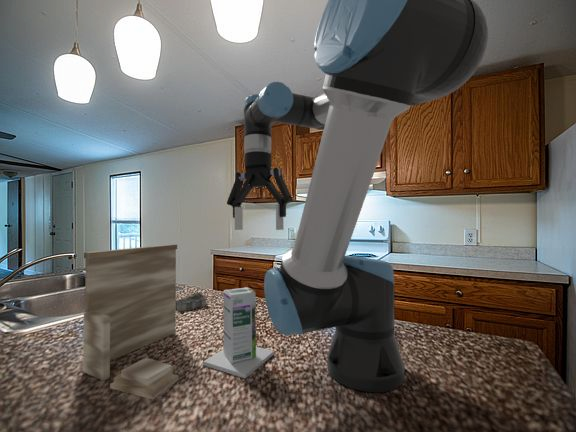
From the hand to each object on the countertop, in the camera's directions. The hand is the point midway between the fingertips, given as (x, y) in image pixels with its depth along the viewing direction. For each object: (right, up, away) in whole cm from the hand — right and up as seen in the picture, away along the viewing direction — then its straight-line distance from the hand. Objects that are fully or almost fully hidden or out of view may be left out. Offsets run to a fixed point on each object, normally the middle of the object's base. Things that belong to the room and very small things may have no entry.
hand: (258, 229), depth 77 cm
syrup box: (-3, -27, -15) cm, 31 cm away
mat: (-2, -28, -15) cm, 32 cm away
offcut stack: (-19, -28, -24) cm, 42 cm away
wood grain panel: (-26, -28, -11) cm, 40 cm away
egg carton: (-27, -29, +23) cm, 46 cm away
